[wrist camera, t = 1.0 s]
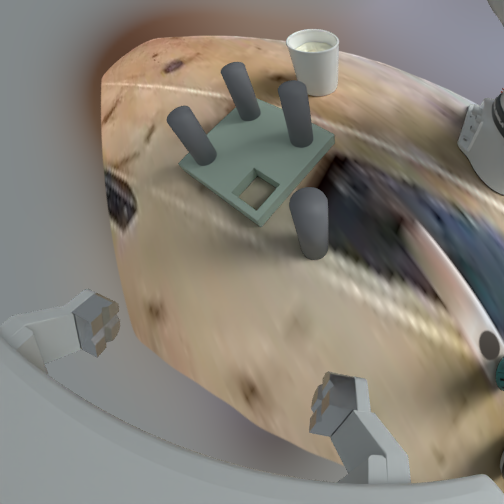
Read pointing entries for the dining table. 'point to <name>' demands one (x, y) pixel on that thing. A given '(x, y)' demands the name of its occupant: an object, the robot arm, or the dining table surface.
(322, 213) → the stool leg
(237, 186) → the stool seat
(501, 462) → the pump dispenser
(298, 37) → the candle holder
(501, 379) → the beverage bottle
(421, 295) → the dining table surface
